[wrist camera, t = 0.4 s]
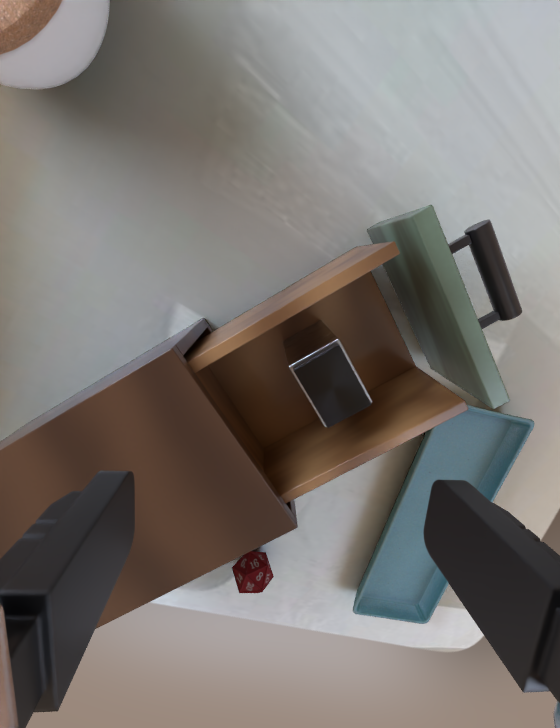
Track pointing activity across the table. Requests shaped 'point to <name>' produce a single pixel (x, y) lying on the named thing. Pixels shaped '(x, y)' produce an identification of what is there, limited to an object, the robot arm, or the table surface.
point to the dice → (252, 572)
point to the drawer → (361, 351)
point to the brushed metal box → (326, 374)
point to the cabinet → (148, 472)
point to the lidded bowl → (49, 40)
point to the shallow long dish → (406, 522)
